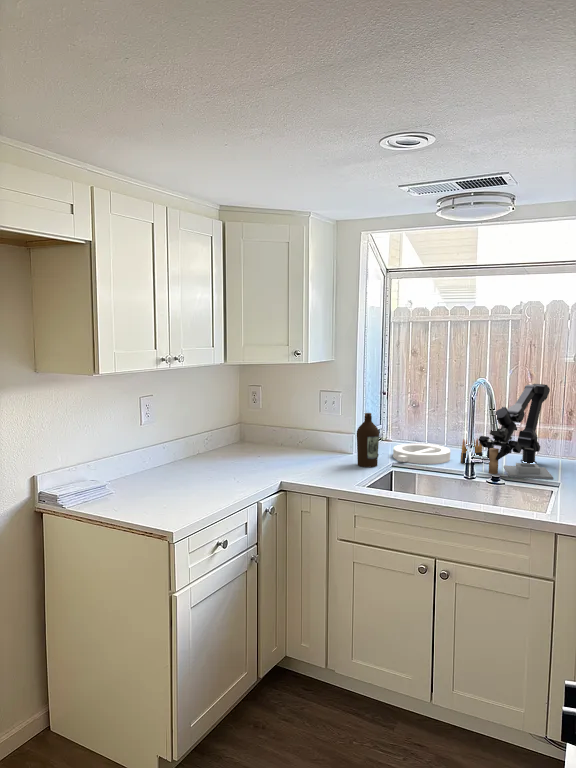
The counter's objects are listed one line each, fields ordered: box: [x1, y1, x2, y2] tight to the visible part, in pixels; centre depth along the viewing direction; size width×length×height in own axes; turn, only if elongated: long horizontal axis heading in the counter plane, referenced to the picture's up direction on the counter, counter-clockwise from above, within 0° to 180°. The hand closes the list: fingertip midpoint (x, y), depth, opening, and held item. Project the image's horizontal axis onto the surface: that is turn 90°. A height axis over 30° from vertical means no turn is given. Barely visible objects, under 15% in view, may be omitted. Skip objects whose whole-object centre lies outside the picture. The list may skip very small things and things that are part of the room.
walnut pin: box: [488, 447, 500, 475], centre depth 268 cm, size 4×4×11 cm
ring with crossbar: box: [392, 443, 451, 465], centre depth 300 cm, size 28×28×5 cm
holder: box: [503, 462, 554, 480], centre depth 268 cm, size 18×18×4 cm
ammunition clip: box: [460, 437, 483, 464], centre depth 288 cm, size 11×2×12 cm, turn 101°
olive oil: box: [356, 412, 380, 468], centre depth 282 cm, size 11×11×25 cm
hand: (492, 459), depth 267 cm, fingers closed on walnut pin, 4 cm apart
